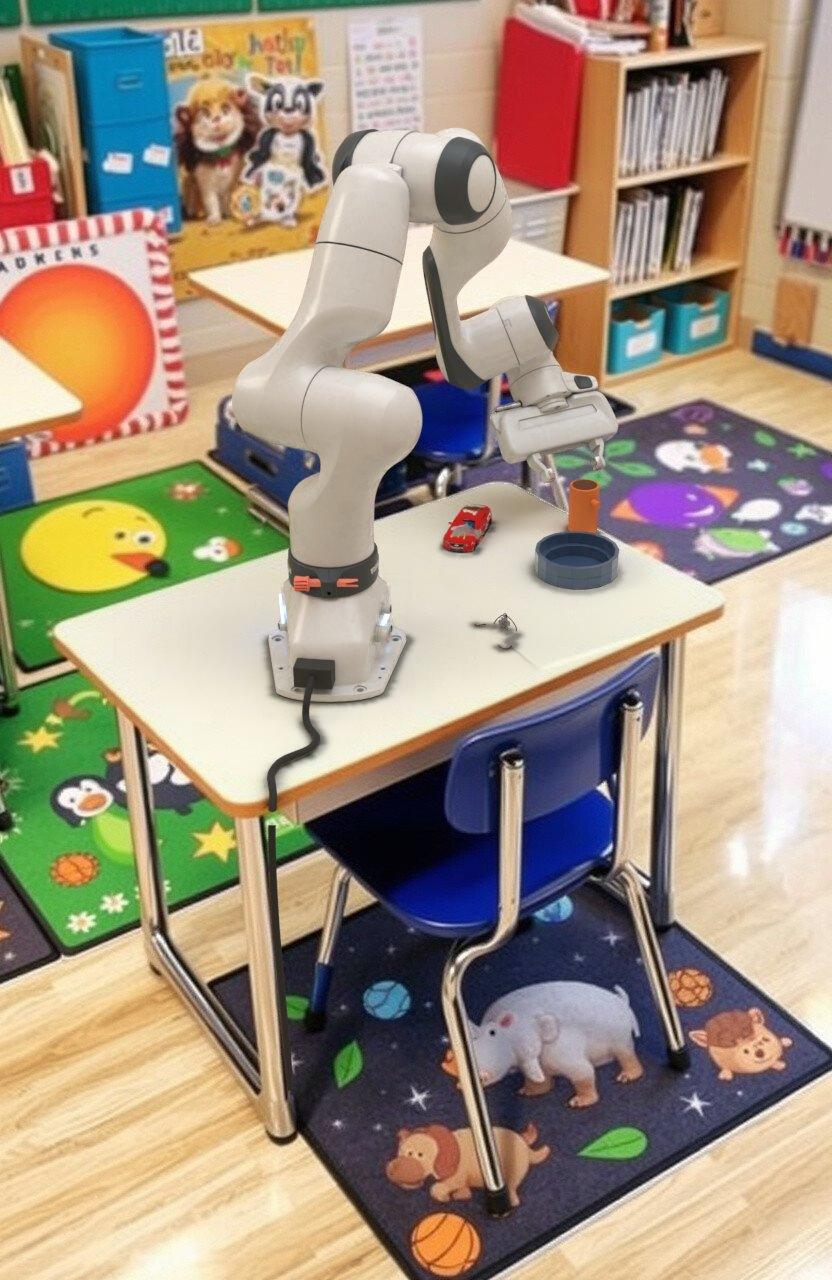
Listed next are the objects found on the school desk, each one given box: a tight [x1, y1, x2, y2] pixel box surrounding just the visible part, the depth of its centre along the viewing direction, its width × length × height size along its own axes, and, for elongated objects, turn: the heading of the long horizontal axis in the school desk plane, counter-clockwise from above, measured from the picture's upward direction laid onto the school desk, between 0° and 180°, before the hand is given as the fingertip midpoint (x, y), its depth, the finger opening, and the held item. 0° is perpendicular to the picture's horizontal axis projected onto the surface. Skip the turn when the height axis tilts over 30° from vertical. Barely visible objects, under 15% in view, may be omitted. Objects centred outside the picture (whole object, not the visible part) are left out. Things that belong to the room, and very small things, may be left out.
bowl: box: [534, 530, 620, 590], centre depth 206 cm, size 12×12×4 cm
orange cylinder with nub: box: [567, 478, 602, 533], centre depth 216 cm, size 6×5×8 cm
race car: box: [442, 503, 493, 553], centre depth 217 cm, size 13×5×4 cm, turn 161°
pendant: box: [474, 612, 518, 650], centre depth 191 cm, size 8×4×3 cm, turn 35°
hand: (575, 474), depth 217 cm, fingers open, 8 cm apart
